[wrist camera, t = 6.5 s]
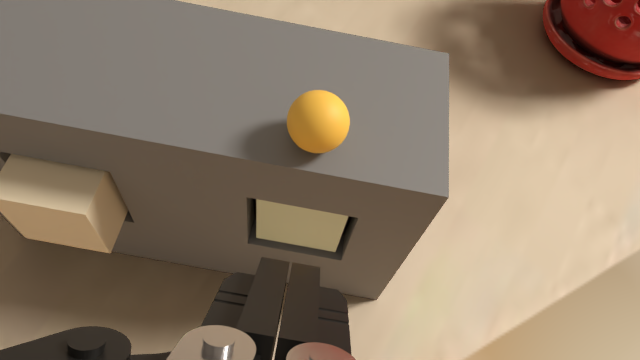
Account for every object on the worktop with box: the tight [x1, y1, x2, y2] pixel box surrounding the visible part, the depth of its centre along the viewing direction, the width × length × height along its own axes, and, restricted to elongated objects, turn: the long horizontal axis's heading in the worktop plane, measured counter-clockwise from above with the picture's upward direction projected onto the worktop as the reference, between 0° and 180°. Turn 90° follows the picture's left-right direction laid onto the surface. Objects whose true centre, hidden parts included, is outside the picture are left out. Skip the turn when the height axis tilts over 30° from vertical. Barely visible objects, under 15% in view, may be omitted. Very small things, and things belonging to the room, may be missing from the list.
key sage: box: [256, 199, 348, 252], centre depth 24 cm, size 4×4×4 cm
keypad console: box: [0, 0, 449, 300], centre depth 25 cm, size 8×22×15 cm, turn 82°
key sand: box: [0, 154, 128, 254], centre depth 23 cm, size 4×4×4 cm
